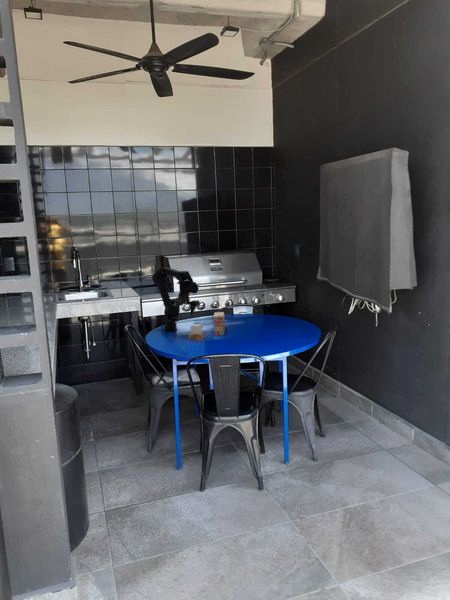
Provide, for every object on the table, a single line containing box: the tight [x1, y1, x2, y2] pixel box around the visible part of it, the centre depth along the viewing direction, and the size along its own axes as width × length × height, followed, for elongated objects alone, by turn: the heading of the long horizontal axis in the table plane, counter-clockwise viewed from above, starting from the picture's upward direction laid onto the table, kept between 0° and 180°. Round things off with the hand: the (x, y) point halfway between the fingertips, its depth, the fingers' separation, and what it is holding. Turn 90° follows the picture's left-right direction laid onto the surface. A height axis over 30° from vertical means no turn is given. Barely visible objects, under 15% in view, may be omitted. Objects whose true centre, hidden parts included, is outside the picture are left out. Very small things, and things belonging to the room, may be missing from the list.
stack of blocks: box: [213, 311, 226, 336], centre depth 292 cm, size 21×6×12 cm, turn 179°
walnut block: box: [188, 331, 206, 342], centre depth 275 cm, size 8×8×4 cm
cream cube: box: [190, 323, 203, 334], centre depth 275 cm, size 5×5×5 cm
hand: (184, 315), depth 285 cm, fingers open, 9 cm apart
